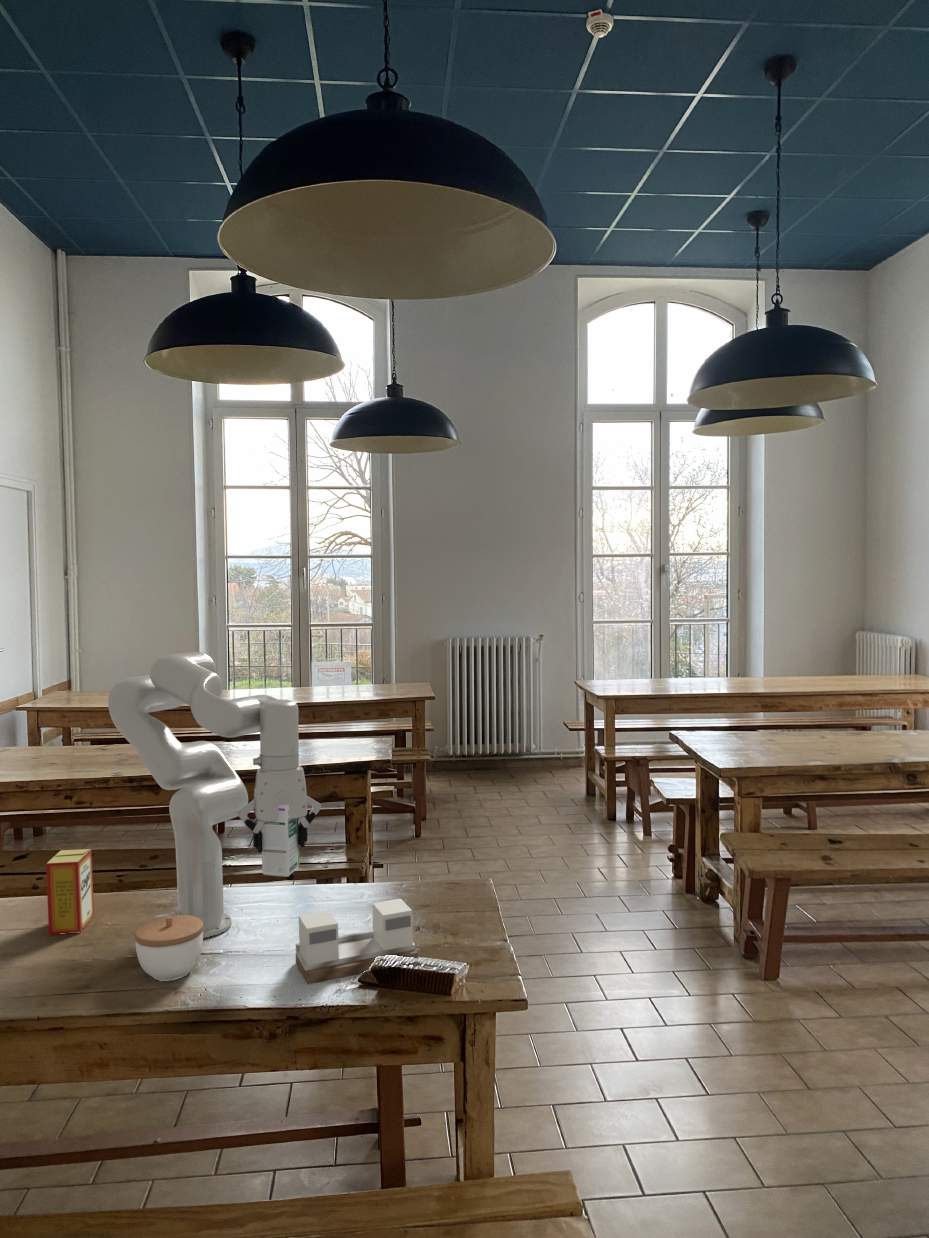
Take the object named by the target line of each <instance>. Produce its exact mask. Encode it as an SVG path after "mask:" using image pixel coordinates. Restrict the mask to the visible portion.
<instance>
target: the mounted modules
mask: <svg viewBox="0 0 929 1238" xmlns="http://www.w3.org/2000/svg"><path fill="white" fill-rule="evenodd" d="M371 904H372V905H371V906H372V930H373V938H374V939H375V940H376V941H377V943H378V944H379V945H380V946H381V948H382V949H383V950H389V949H395V948H400V947H405V946H410V945H413V943H414V941H413V940H414V938H413V936H414V935H413V934H414V932H413V930H414V929H413V910H412V908H411V907H409V905H407V903H405V901H404V900H403V899H402V898H396V899H389V900H384V901H378V902H372V903H371ZM298 934H299V936H298V937H299V940H298V941H299V943H298V944H299V946H300V952H301V954H302V956H303V958H304V959H305V961H306V963H307V965H311V964H316V963H321V962H327V961H332V960H337V959H339V945H338V936H339V923H338V921H337V920H336V918H335V916H333V913H331V912H330V910H324V911H319V912H312V913H307V914H306V913H305V914H300V915H298Z"/></svg>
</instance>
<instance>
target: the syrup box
mask: <svg viewBox="0 0 929 1238" xmlns="http://www.w3.org/2000/svg"><path fill="white" fill-rule="evenodd" d="M278 809H279V820H277V821H274V822H265V823H264V824H263V826H262V828H261V833H262V852H261V866H262V867H261V869H262V871H261V872H262V875H264V876H265V875H266V876H273V877H285V878H286V877H290V875H292V874H293V873H294V872H295V871H297V869H299V868H300V845H299V820H298V819H292V820H291V819H290V810H289V804H279V808H278Z"/></svg>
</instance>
